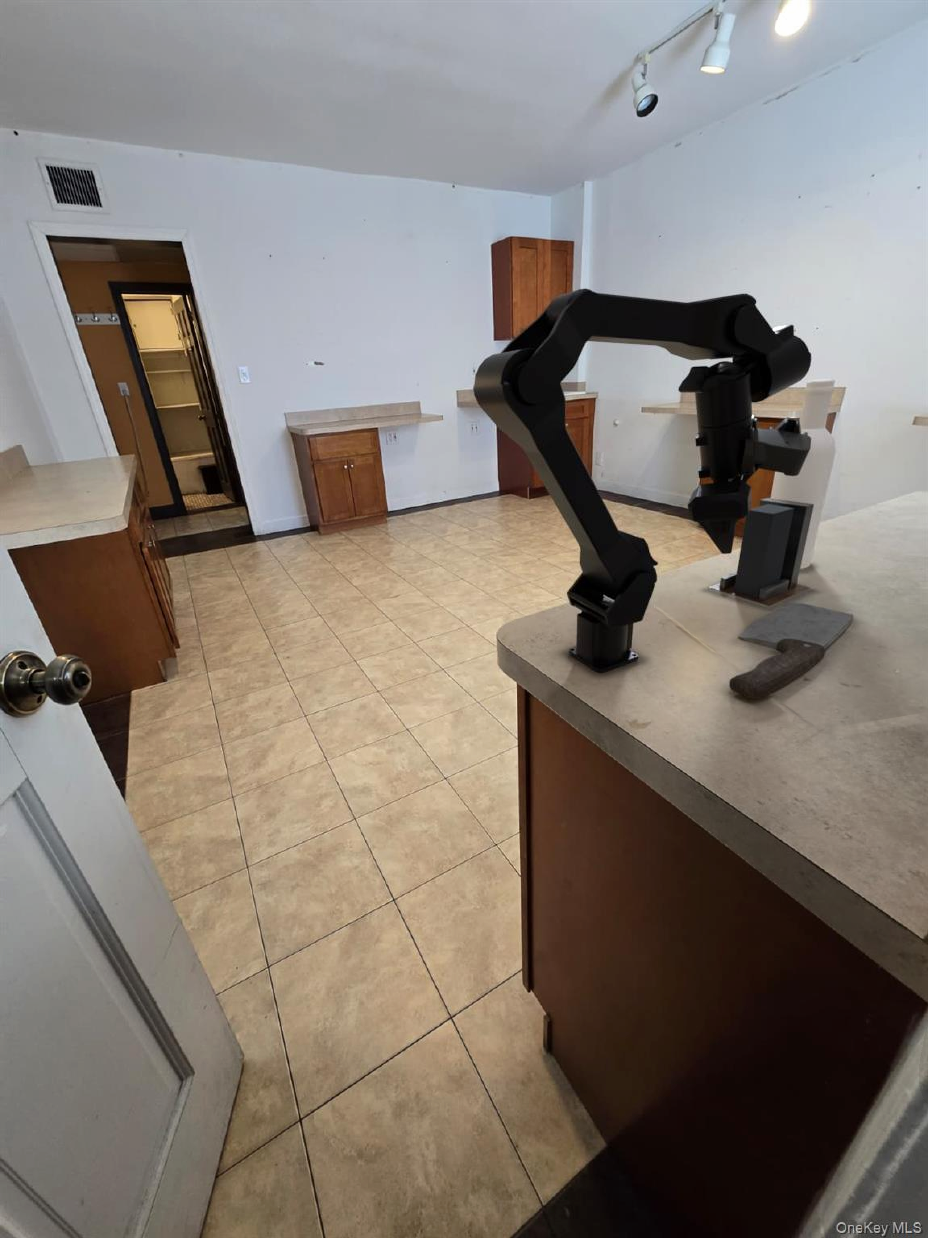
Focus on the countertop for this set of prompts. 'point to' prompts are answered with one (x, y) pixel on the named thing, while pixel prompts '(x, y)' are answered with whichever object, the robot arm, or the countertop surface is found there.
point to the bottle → (811, 460)
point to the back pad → (763, 548)
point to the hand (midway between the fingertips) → (731, 535)
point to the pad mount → (791, 559)
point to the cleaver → (789, 645)
